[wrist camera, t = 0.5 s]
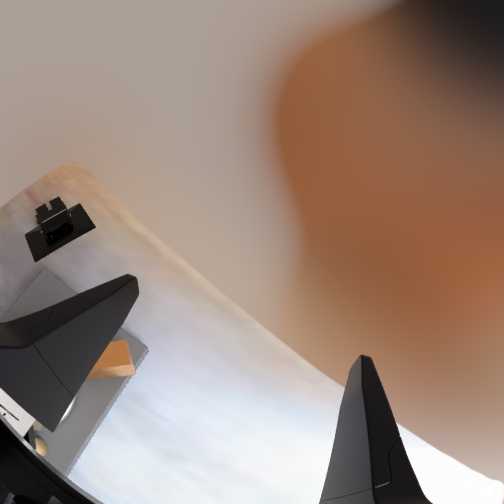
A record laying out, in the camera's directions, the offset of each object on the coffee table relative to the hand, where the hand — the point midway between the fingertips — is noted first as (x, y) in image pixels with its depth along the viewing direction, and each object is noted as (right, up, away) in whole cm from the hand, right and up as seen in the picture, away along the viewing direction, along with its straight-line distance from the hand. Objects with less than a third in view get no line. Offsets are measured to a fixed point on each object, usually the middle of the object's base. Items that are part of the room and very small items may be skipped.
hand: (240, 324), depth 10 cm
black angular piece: (-25, +5, +20) cm, 32 cm away
